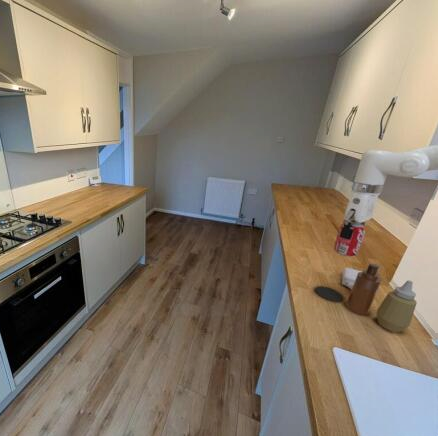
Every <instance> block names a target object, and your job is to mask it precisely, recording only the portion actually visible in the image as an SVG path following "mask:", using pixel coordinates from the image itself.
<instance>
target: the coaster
mask: <svg viewBox="0 0 438 436" xmlns="http://www.w3.org/2000/svg"><path fill="white" fill-rule="evenodd" d="M315 293H316V294H317V295H318V296H319V297H321V298H322V299H325V300H327V301H330V302H335V303H336V302H337V303H338V302H341V301H343V299H344V297H343V295H342V294H341V293H340V292H338V291H337V290H335V289H333V288H330V287H327V286H316V288H315Z"/></svg>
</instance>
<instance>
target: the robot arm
mask: <svg viewBox="0 0 438 436" xmlns="http://www.w3.org/2000/svg"><path fill="white" fill-rule="evenodd" d="M437 170H438V144H434V145H430V146H425V147H419V148H414V149H409V150H405V151H402V152H401V151H400V152H398V151H397V152H393V151H391V150H382V149H368V150H366V151H365V150H364V152H363V153H362V156H361V158H360V161H359V164H358V167H357V170H356V173H355V177H354V180H353V183H352V186H351V190H350V191H351V192H352V194H351V195H350V198H349V201H348V204H347V206H346V209H345V212H344V216H343V222H342V224H343V223H344V224H343V227H342V230H341V233H340V237H342V238H345V239H348V240H350V239H351V237H352V234H353V231H354V229H353V228H354V226H355V224H356V222H358V223H362V224H364V225H365V226H366V224H367V223H366V222H367V221H370V220H372V218H373V216H374V212H375V209H376V206H377V202H378V197H379V196H380V195H381V193H382V191H383V188H384V185H385V182H386V180H387V178H388V177H387V176H388V175H390V176H395V177H399V178H416V177H418V176H420V175H422V174H424V173H425V172H430V171H437ZM351 222H353V223H352V225H351Z"/></svg>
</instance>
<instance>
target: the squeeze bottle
mask: <svg viewBox="0 0 438 436" xmlns="http://www.w3.org/2000/svg"><path fill="white" fill-rule="evenodd" d="M413 285H414V282H413V281H412V280H410V279H407V280H406V281H405V282H404V284H403V285H402V286H395V288H394V290H392V291H388V292H387V294H386V296H385V297H384V299H383V301H382V302H381V304H380V305H379V306H378V308H377V310H376V320H377V323H378V325H380V326H381V327H382V328H384V329H386V330H388V331H389V332H394V333H401V332H402V331H404V330H405V329H407V328H408V327H410V326H411V322H412V319H413V316H414V313H415V310H416V307H417V300H416V299H415V298H416V296H417V295H416V293H415V292H414V291H413Z"/></svg>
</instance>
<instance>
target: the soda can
mask: <svg viewBox="0 0 438 436" xmlns="http://www.w3.org/2000/svg"><path fill="white" fill-rule="evenodd" d="M352 223H353V222H351V225H352ZM343 224H344V223H343V222H342V224H341V225H340V227H339V230H338V232H337V235H336V239H335V241H334V245H333V250H334V251H335V252H336V254H338V255H340V256H343V257H348V258H351V257H355V256H357V254H358V253H359V251H360V248H361V245H362V243H363V240H364V237H365V234H366V228H365V227H366V224H365V225H364V224H362V223H358V222H356V224H355V226H354V228H353V229H354V231H353V234H352V237H351V239H350V240H348V239H345V238H342V237H340V233H341V230H342V227H343Z"/></svg>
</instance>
